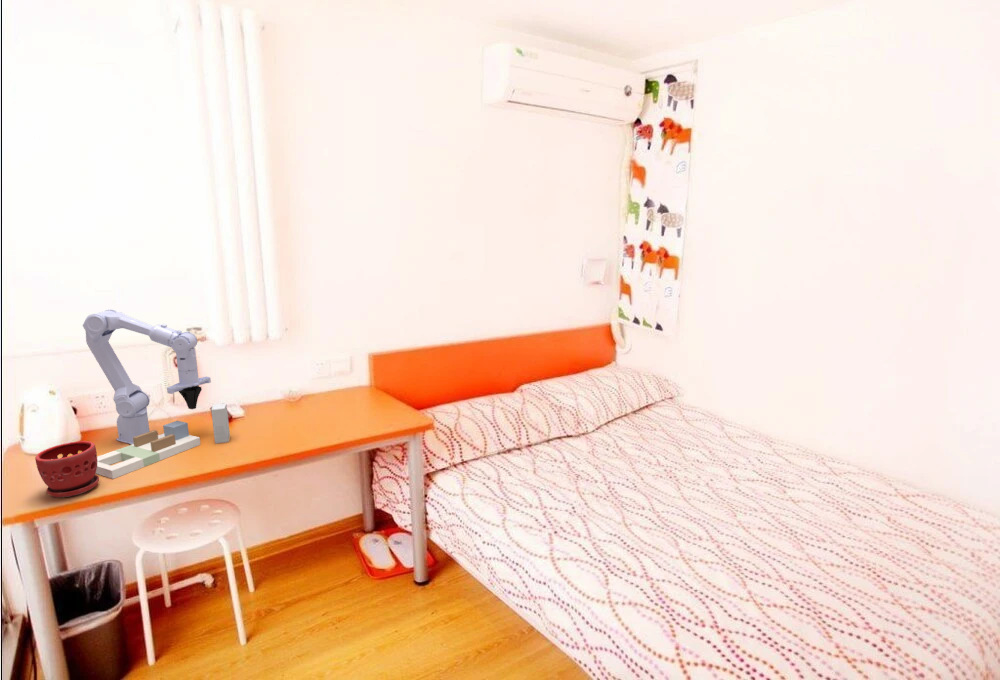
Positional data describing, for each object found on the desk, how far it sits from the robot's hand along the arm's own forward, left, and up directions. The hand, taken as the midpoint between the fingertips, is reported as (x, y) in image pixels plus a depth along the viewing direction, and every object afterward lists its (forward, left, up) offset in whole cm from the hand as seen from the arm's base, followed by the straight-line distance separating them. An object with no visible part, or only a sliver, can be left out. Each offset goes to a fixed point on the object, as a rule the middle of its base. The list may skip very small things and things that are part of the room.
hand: (192, 408), depth 191 cm
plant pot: (+4, -41, -11) cm, 42 cm away
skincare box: (+10, +2, -11) cm, 15 cm away
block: (0, -7, -8) cm, 10 cm away
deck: (0, -18, -10) cm, 20 cm away
